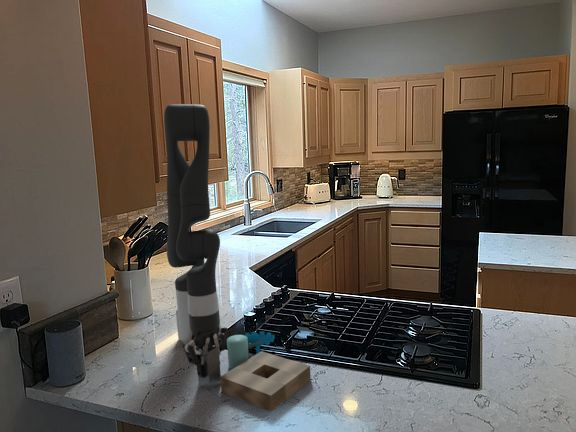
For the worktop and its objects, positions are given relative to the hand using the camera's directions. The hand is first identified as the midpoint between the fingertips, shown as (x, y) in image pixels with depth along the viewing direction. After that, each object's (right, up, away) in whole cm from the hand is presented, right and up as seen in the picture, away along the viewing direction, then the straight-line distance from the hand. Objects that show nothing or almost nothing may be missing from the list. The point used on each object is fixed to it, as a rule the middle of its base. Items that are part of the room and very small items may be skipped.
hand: (209, 372), depth 119 cm
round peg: (+7, -1, +9) cm, 11 cm away
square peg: (0, -3, +1) cm, 3 cm away
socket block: (+15, -3, -2) cm, 15 cm away
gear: (+11, 0, +18) cm, 21 cm away
